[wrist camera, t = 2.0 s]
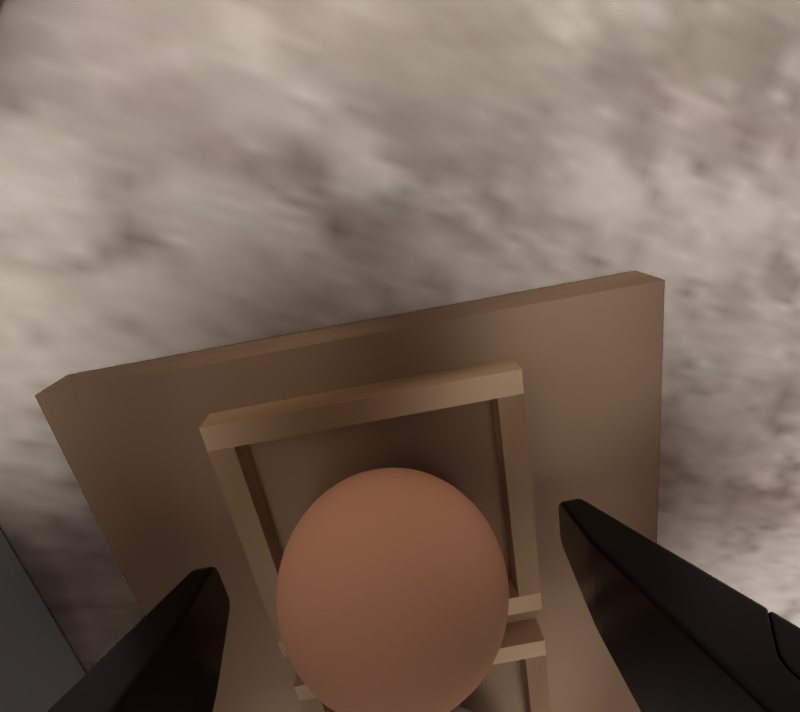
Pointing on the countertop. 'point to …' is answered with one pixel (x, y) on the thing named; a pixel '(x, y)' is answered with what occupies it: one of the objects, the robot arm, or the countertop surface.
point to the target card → (30, 644)
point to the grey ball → (460, 709)
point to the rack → (386, 464)
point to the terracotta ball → (392, 594)
